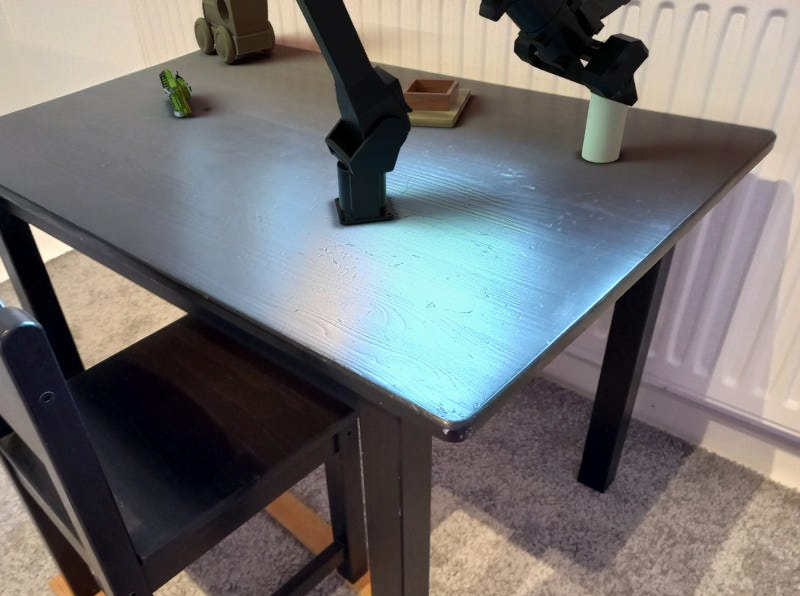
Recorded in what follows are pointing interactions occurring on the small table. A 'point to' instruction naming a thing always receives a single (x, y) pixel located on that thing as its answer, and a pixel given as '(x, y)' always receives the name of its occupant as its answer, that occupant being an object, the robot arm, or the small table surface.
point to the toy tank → (176, 92)
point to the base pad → (435, 101)
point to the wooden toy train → (234, 28)
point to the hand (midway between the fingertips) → (609, 92)
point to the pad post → (604, 129)
